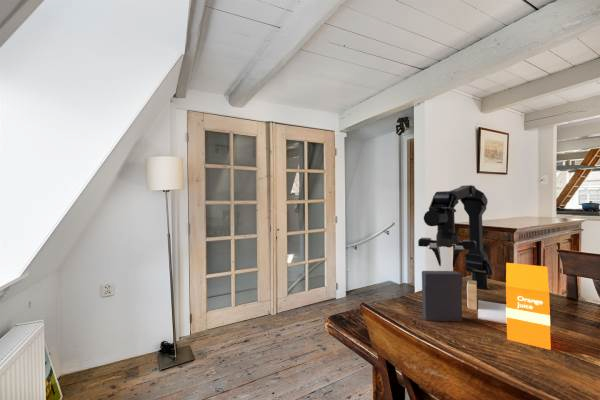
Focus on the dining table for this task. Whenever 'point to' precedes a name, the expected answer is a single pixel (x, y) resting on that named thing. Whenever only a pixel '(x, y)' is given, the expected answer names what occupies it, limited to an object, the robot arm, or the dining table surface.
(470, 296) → the tile
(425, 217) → the robot arm
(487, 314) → the mat
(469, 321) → the dining table surface
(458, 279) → the charcoal upright rounded slab
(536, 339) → the orange juice
